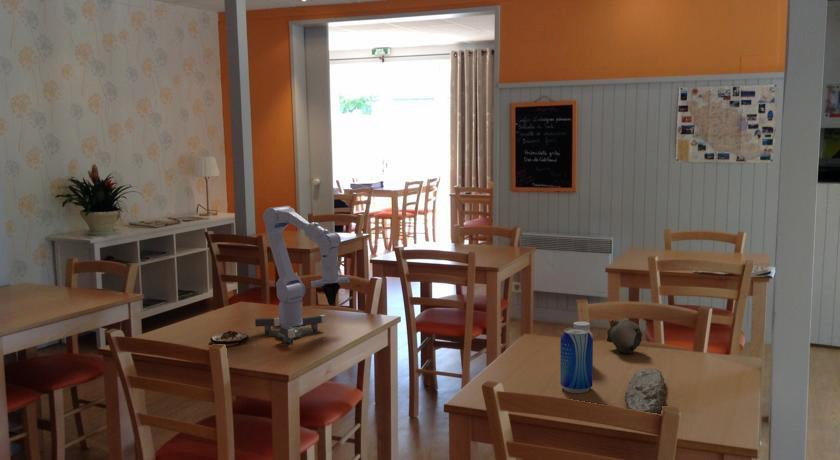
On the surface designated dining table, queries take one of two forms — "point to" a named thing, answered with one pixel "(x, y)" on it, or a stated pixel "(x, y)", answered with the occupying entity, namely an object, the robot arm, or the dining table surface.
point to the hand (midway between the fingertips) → (331, 304)
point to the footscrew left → (314, 321)
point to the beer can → (576, 360)
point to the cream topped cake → (230, 338)
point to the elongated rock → (646, 391)
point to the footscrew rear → (267, 323)
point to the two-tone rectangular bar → (287, 333)
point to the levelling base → (298, 333)
